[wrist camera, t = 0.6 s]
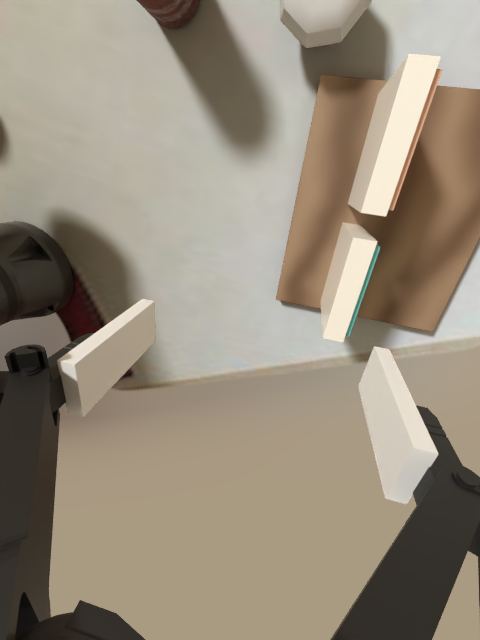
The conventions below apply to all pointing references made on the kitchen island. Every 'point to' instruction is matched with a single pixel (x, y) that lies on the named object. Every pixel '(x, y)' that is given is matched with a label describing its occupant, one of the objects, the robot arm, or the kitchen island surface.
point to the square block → (347, 280)
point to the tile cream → (394, 134)
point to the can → (171, 11)
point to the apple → (321, 19)
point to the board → (399, 224)
